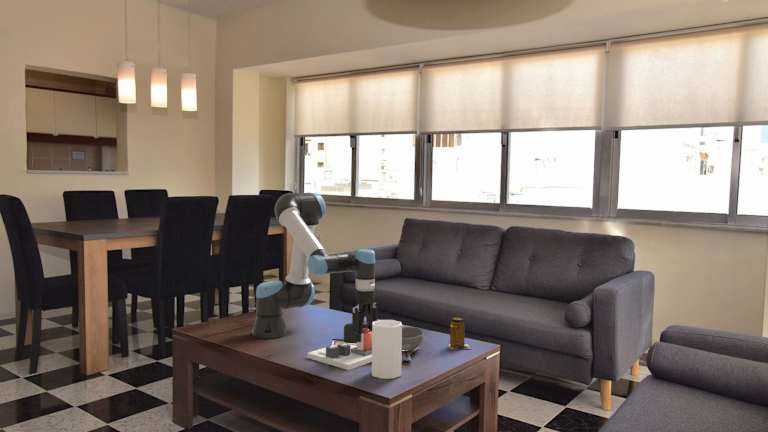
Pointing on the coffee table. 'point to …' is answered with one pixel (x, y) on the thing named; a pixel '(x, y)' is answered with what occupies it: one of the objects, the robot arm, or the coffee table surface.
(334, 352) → the breaker
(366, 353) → the panel
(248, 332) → the coffee table surface
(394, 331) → the white canister
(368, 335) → the cap
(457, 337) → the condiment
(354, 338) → the leaning round-cornered charcoal block
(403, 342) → the bowl
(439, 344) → the coffee table surface
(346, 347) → the breaker
